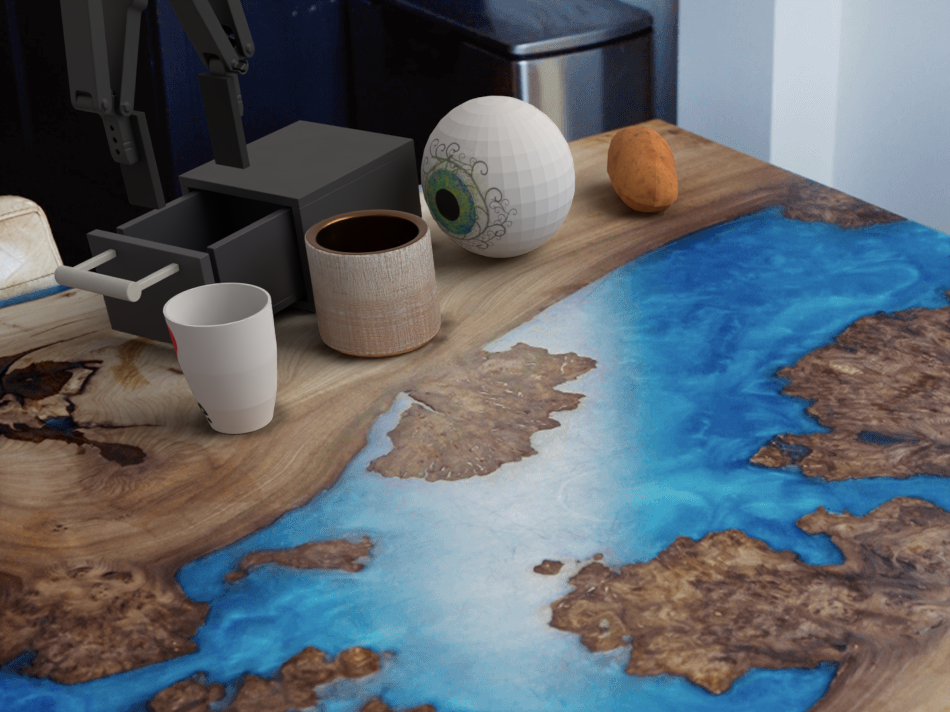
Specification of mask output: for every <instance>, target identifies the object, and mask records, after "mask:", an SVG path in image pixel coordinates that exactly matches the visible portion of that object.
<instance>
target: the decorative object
mask: <svg viewBox="0 0 950 712" xmlns="http://www.w3.org/2000/svg"><path fill="white" fill-rule="evenodd" d="M570 149H571V148H570V146H569V144H568V142H567V140H566V138H565V136H564V135H563V133H562V132H561V130H560V129H559V127H558V126H557V125H556V124H555V122H554V121H553V120H552V119H551V118H550V117H549V116H548V115H547V114H545V113H544V112H543V111H541V110H540V109H538V108H537V107H536V106H535V105H533V104H531V103H528V102H526V101H523V100H521V99H518V98H516V97H513V96H512V97H511V96H505V95H487V96H481V97H476V98H472V99H469V100H467V101H465V102H462V103H461V104H459V105H458V106H457V105H456V107H454V108H453V109H451V110H450V111H449V112H447V114H446V115H444V116H443V117H442V118H441V119H440V120H439V122H438V123H437V125H436V126H435V128H434V129H433V130H432V132H431V133H430V134H429V137H428V139H427V142H426V144H425V147H424V149H423V155H422V159H421V165H420V184H421V190H422V194H423V198H424V201H425V203H426V206H427V208H428V210H429V213H430V215H431V217H432V220H433V221H434V222H435V223H436V224H437V226H438V227H439V229H440V230H441V231H442V232H443V233H444V234H445V235H446V236H447V237H448V238H449V239H450V240H451V241H453V242H454V243H455V244H457V245H458V246H460V247H461V248H463V249H465V250H466V251H468V252H470V253H473V254H476V255H480V256H483V257H487V258H492V259H493V258H494V259H507V258H515V257H519V256H523V255H525V254H527V253H530V252H533V251H535V250H537V249H538V248H540V247H542V245H544V244H545V243H547V242H548V241H549V240H550V239H552V238H553V236H554V235H555V234H556V233H557V232H558V230H559V229H560V228H561V227H562V225H563V224H564V223H565V220H566V218H567V216H568V214H569V212H570V210H571V207H572V204H573V200H574V196H575V188H576V172H575V164H574V158H573V154H572V152H571V150H570Z"/></svg>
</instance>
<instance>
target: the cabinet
mask: <svg viewBox="0 0 950 712" xmlns="http://www.w3.org/2000/svg"><path fill="white" fill-rule="evenodd" d="M246 147H247V152H248V157H249V163H250V166H249V167H247V168H245V169H239V168H234V167H229V166H223V165H218V164H216V163H215V159H212V160H210V161H208V162H205V163H204V164H201V165H200V166H196V167H195V168H193V169H190V170H188V171H186V172H184V173H181V174H179V175H178V181H179V186H180V190H181V195H182V196H184V195H186V194H188V193H190V192H192V191H195V190H197V189H202V190H207V191H212V192H217V193H222V194H227V195H232V196H238V197H243V198H248V199H253V200H258V201H263V202H268V203H273V204H278V205H284V206H289V207H292V211H293V217H294V223H295V229H296V234H297V240H298V246H299V252H300V258H301V263H302V269H303V275H304V281H305V286H306V292H307V295H306V296H304V297H302V298H301V299H299V300H297V301H296V302H294V303H292V304H291V305H289V306H288V307H290V308H294V309H297V310H303V311H307V312H311V313H315V314H316V308H315V302H314V295H313V288H312V282H311V275H310V269H309V263H308V257H307V251H306V245H305V234H306V232H307V231H308V230H309V229H310V228H311V227H312V226H313V225H315V224H316V223H318V222H320V221H322V220H324V219H326V218H329V217H332V216H335V215H339V214H343V213H347V212H353V211H360V210H375V209H382V210H396V211H402V212H407V213H411V214H414V215H416V216H419V217H420V218H422V219H423V212H422V203H421V195H420V187H419V178H418V177H419V176H418V170H417V169H418V168H417V160H416V151H415V143H414V138H409V137H402V136H397V135H390V134H384V133H380V132H373V131H368V130H361V129H355V128H349V127H344V126H336V125H331V124H326V123H319V122H314V121H313V122H312V121H307V120H300V119H299V120H298V121H295V122H293V123H291V124H289V125H287V126H284V127H282V128H279V129H277V130H276V131H273V132H271V133H269V134H267V135H264V136H263V137H260V138H258V139H256V140H254V141H251V142H250V143H246Z"/></svg>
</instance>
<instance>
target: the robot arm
mask: <svg viewBox="0 0 950 712" xmlns="http://www.w3.org/2000/svg"><path fill="white" fill-rule="evenodd" d="M167 2H168V4H169V6H170V8H171V10H172V11H173V13H174V14H175V16H176V19H177V20H178V21H179V23H180V25H181V27H182V28H183V30H184V32H185V34H186V36H187V38H188V39H189V41H190V42H191V44H192V46H193V48H194V50H195V51H196V53H197V55H198V57H199V59H200V60H201V62H202V64H203V66H204V67H205V68H206V70H209V72H206V71H204V72H201V73H198V74H197V80H198V83H199V84H198V85H199V89H200V90H199V91H200V95H201V98H202V103H203V109H204V113H205V118H206V123H207V128H208V134H209V140H210V143H211V148H212V154H213V158H214V159H215V163H216V164H218V165H223V166H229V167H234V168H239V169H245V168H247V167H249V166H250V163H249V157H248V152H247V147H246V145H247V141H246V136H245V131H244V126H243V120H242V117H243V116H244V104H243V103H244V102H243V99H242V93H241V88H240V81H239V76H238V75H246V74H247V73H248V71H249V62H248V60H247V59H248V58H249V59H250V58H252V57H254V54H255V50H256V47H255V44H254V41H253V37H252V35H251V30H250V28H249V25H248V21H247V18H246V15H245V12H244V8H243V5H242V2H241V0H167ZM59 4H60V11H61V22H62V32H63V39H64V49H65V58H66V68H67V77H68V84H69V85H68V86H69V95H70V102H71V105H72V107H73V108H74V109H75V110H78V111H82V112H88V113H94V114H98V115H99V116H100V117H101V120H102V124H103V127H104V131H105V134H106V140H107V143H108V147H109V152H110V156H111V157H112V159H113V161H114V162H115V163H119V166H120V170H121V174H122V180H123V183H124V187H125V190H126V194H127V198H128V199H127V200H128V202H129V205H134V206H137V207H138V206H139V207H144V208H148V209H152V210H154V209H157V210H159V209H161V208H163V207H165V206H166V204H167V203H166V200H165V197H164V192H163V187H162V183H161V179H160V175H159V174H160V173H159V170H158V165H157V161H156V157H155V152H154V147H153V143H152V140H151V135H150V130H149V125H148V121H147V118H146V112H145V111H139V110H134V105H135V95H136V94H135V93H136V81H137V80H136V79H137V68H138V58H139V57H138V56H139V46H140V45H139V43H140V34H141V33H140V32H141V31H140V30H141V19H142V13H143V11H145V10H146V9H147V7H148V4H149V0H59ZM232 35H233V37H232ZM246 58H247V59H246ZM114 93H115V95H113V94H114ZM214 159H213V160H214Z"/></svg>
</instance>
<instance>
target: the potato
mask: <svg viewBox="0 0 950 712" xmlns="http://www.w3.org/2000/svg"><path fill="white" fill-rule="evenodd" d="M606 158H607V162H606V173H607V175H608V177H609V179H610V182H611V186H612V188H613V189H614V192H615V193H616V194H617V196H618V197H619V198H620V199H621V201H622V202H623V203H624V204H625V205H626V206H627V207H628V208H630V209H632V210H633V211H635V212H639V213H640V212H641V213H655V212H664V211H665V210H667V209H668V208H670V207H671V206H672V205H673V204H674V202H676V201H677V199H678V196H679V195H678V194H679V181H678V177H677V169H676V167H677V166H676V161H675V156H674V153H673V151H672V149H671V147H670V145H669V144H668V142H667V140H666V139H665V138H663V137H662V136H661V135H660V134H659V132H658V131H656V130H655V129H653V128H651V127H647V126H633V125H631V126H628V127H625V128H623V129H621V130H619V131H617V132H616V133H615V134H614V135H613V137H612V138H611V139H610V143H609V147H608V150H607V157H606Z"/></svg>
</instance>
